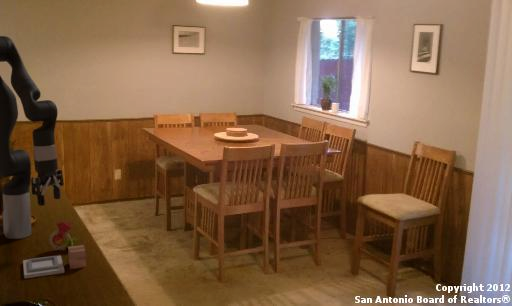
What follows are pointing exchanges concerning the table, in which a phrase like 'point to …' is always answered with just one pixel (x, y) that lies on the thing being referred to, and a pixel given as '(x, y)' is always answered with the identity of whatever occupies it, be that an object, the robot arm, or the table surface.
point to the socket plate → (43, 266)
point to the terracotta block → (77, 256)
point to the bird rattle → (61, 237)
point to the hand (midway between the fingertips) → (49, 202)
